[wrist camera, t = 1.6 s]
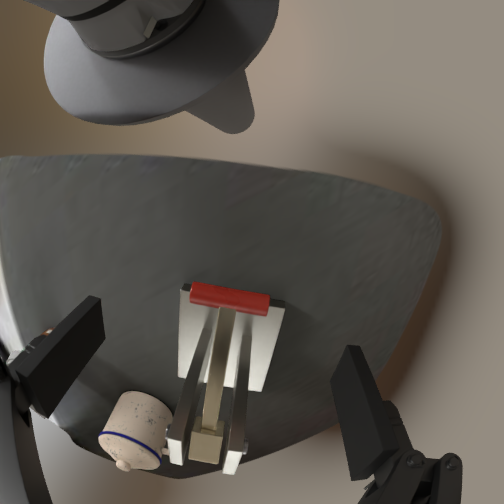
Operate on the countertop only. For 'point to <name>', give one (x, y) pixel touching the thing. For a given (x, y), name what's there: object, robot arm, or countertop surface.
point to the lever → (219, 361)
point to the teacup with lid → (136, 431)
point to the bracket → (237, 373)
